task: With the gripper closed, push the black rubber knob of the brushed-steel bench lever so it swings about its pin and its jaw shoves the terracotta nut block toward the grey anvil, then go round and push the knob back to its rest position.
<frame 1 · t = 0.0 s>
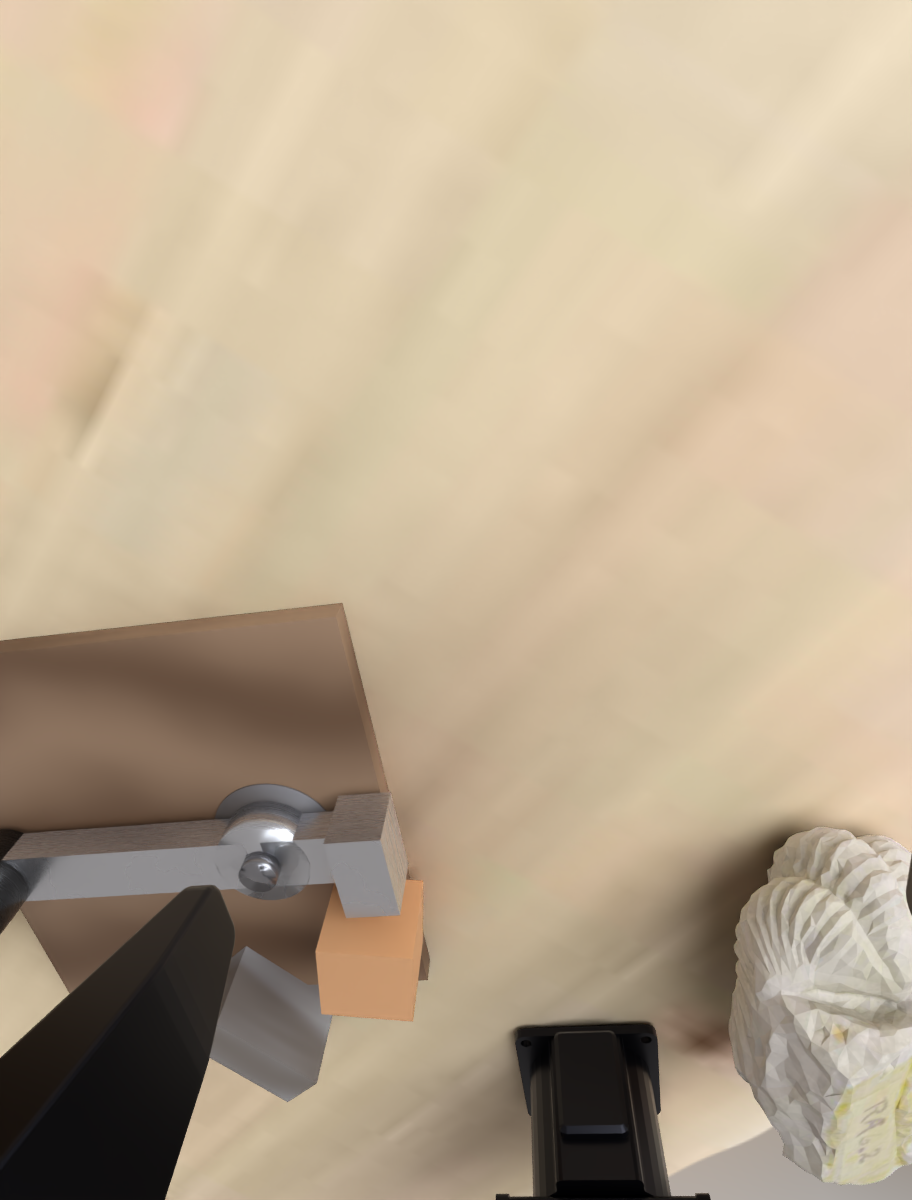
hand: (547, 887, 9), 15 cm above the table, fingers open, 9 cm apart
fossil replica: (815, 902, 29), on the table
nut block: (380, 908, 29), point 1 cm above the table, touching press bench
press bench: (190, 820, 29), on the table
lever: (148, 908, 25), point 4 cm above the table, hinge at 0.0°
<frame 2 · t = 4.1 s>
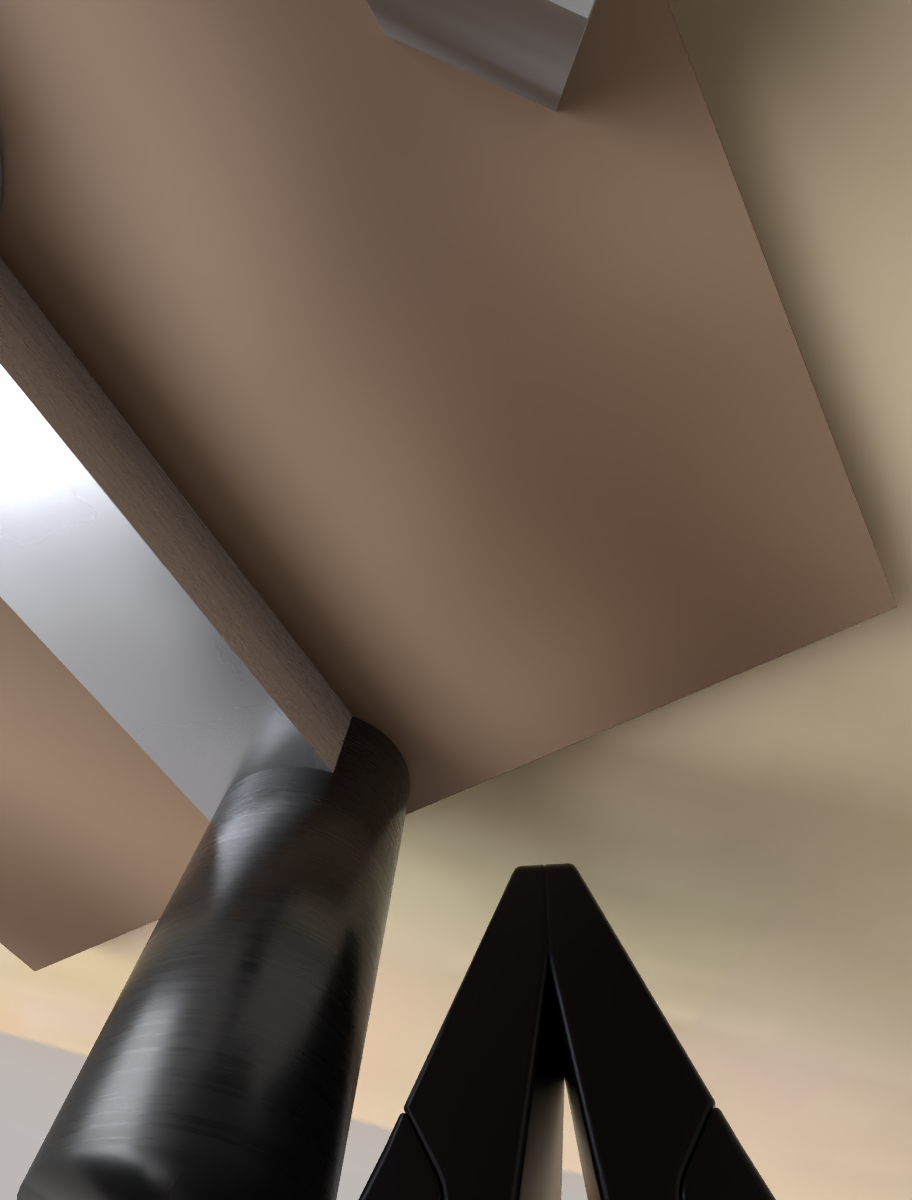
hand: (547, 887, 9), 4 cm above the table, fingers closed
press bench: (81, 395, 11), on the table
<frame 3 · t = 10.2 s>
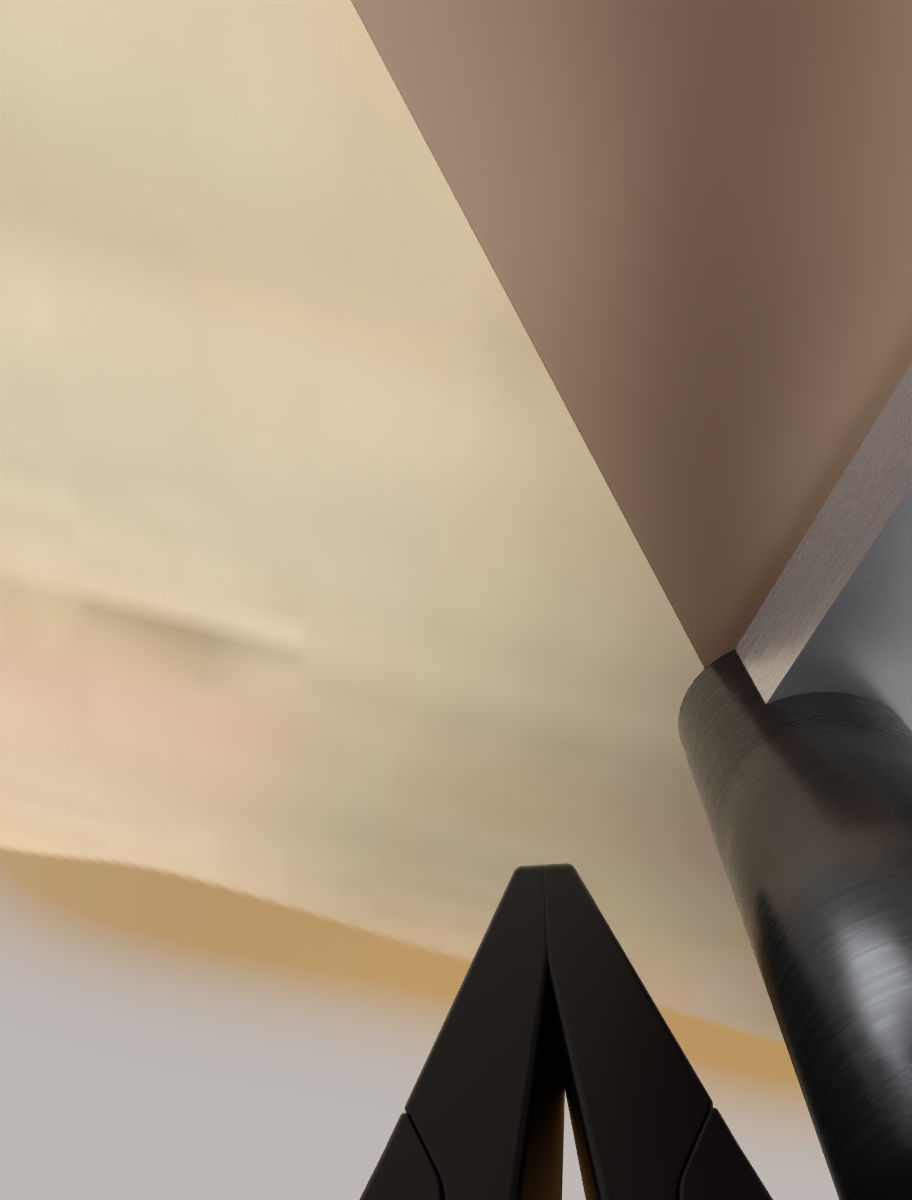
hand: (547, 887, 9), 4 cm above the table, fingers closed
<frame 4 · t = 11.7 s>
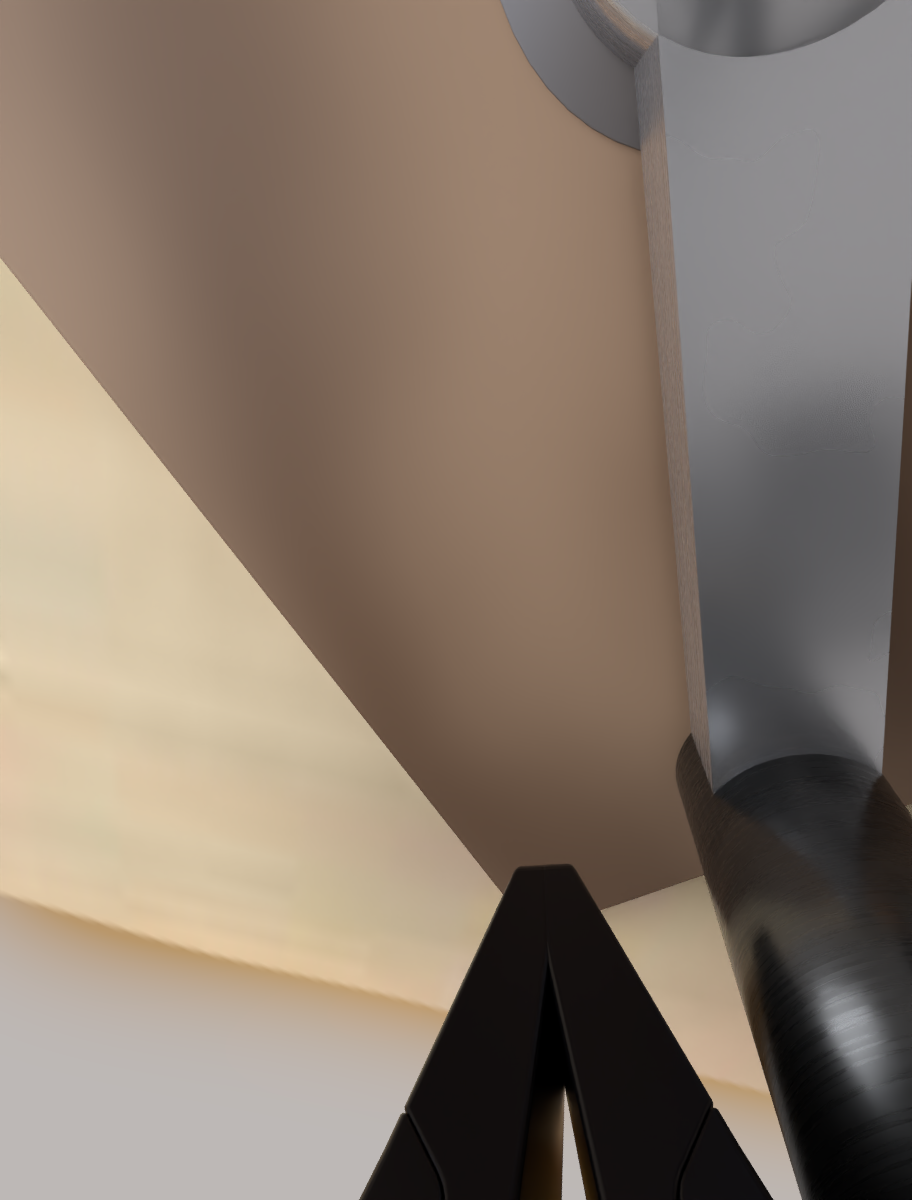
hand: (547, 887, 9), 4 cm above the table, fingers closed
press bench: (826, 256, 9), on the table
lever: (870, 296, 5), point 4 cm above the table, hinge at -19.3°, touching gripper
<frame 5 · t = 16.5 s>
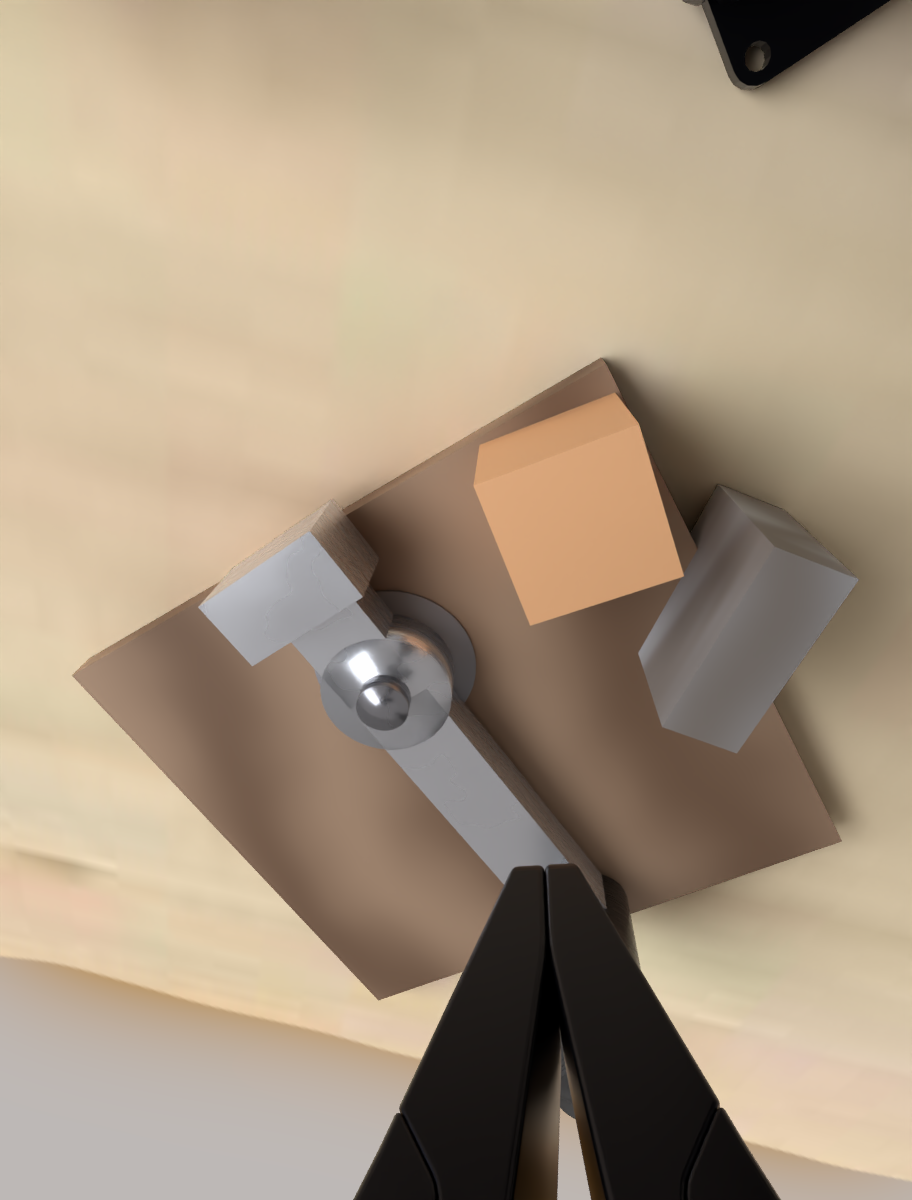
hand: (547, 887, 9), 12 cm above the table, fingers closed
nut block: (568, 483, 18), point 1 cm above the table, touching press bench
press bench: (466, 740, 23), on the table
lever: (458, 829, 19), point 4 cm above the table, hinge at 3.6°
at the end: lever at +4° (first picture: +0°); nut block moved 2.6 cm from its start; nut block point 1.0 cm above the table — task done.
